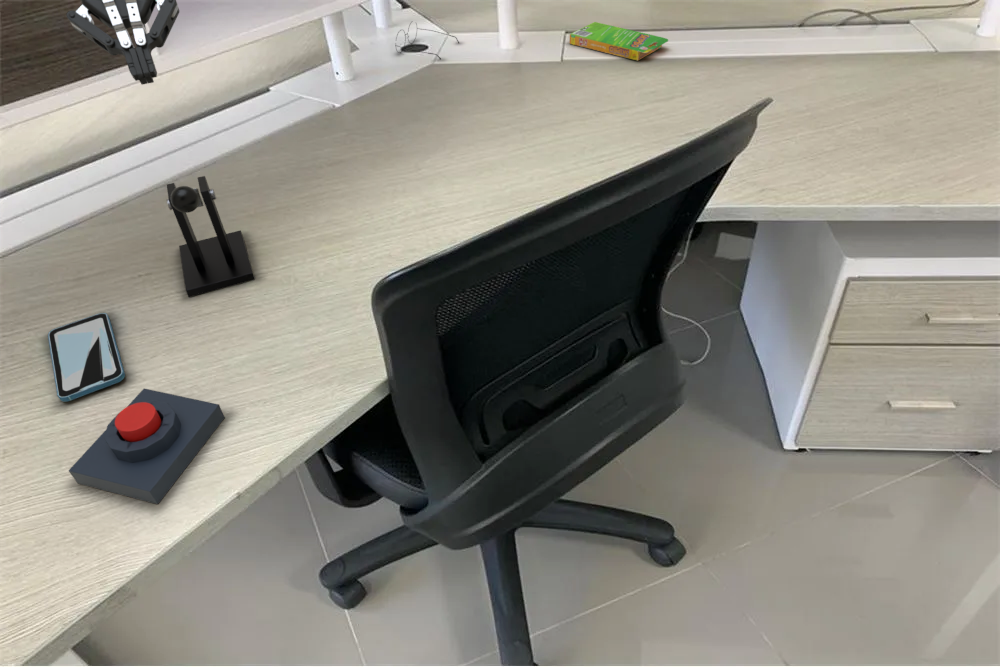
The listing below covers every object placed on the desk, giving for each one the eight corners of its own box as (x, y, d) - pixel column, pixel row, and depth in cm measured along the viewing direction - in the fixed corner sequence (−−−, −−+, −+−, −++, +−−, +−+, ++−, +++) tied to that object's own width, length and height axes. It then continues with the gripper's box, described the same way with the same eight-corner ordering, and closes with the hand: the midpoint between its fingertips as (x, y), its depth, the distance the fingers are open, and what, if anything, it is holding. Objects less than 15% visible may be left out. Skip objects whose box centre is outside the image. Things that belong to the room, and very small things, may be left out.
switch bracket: (255, 279, 98) (227, 200, 90) (188, 297, 96) (153, 217, 88) (243, 236, 107) (216, 160, 98) (181, 252, 104) (149, 175, 96)
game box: (594, 34, 167) (669, 48, 155) (569, 47, 162) (645, 62, 150) (594, 21, 165) (670, 34, 153) (568, 33, 160) (645, 48, 148)
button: (145, 445, 72) (138, 434, 71) (113, 438, 73) (105, 427, 72) (169, 417, 75) (163, 406, 74) (138, 410, 76) (131, 399, 74)
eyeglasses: (461, 42, 165) (459, 19, 162) (439, 61, 156) (437, 38, 153) (418, 38, 168) (415, 16, 165) (394, 57, 160) (391, 34, 156)
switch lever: (202, 209, 84) (193, 182, 83) (174, 215, 83) (165, 189, 83) (208, 207, 96) (200, 184, 95) (184, 213, 95) (176, 190, 95)
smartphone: (106, 310, 93) (124, 375, 83) (109, 316, 94) (128, 381, 84) (46, 331, 91) (57, 400, 81) (50, 336, 91) (61, 406, 81)
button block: (158, 504, 71) (142, 480, 68) (77, 483, 73) (59, 459, 70) (225, 417, 79) (213, 393, 76) (151, 401, 82) (137, 377, 79)
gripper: (32, -66, 80) (77, 77, 80) (153, -81, 84) (197, 55, 83) (55, -26, 87) (97, 105, 87) (166, -42, 91) (207, 83, 91)
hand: (146, 80), depth 85 cm, fingers closed
